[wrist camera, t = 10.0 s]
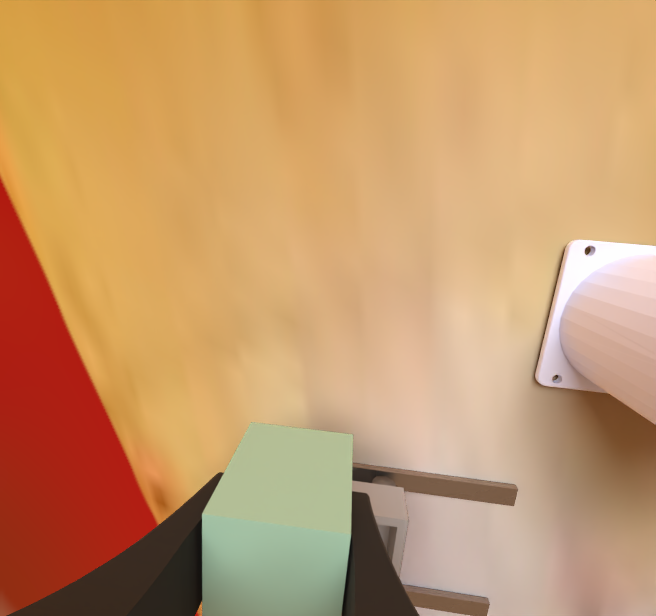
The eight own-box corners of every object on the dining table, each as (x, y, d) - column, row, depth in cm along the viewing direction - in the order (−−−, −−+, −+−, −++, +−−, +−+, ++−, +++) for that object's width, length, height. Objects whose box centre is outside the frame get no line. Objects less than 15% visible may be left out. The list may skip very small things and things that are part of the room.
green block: (352, 434, 14) (350, 534, 9) (343, 520, 14) (337, 647, 10) (251, 421, 14) (202, 513, 9) (248, 507, 15) (202, 626, 10)
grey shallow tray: (400, 471, 21) (408, 520, 18) (379, 609, 24) (382, 677, 20) (272, 453, 22) (254, 498, 18) (264, 590, 25) (248, 653, 21)
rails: (515, 484, 22) (518, 489, 21) (484, 611, 24) (486, 618, 24) (276, 452, 23) (274, 456, 22) (269, 576, 25) (267, 582, 25)
